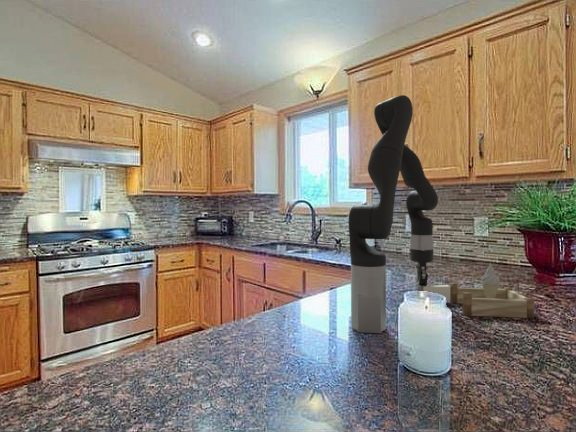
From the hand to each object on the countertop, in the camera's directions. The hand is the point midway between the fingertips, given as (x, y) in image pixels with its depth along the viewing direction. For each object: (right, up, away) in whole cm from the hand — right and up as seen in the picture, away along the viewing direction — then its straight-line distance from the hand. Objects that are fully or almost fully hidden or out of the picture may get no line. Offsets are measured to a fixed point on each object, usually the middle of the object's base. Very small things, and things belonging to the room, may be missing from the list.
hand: (421, 297), depth 124 cm
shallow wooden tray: (+17, -1, -11) cm, 20 cm away
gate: (+3, -1, -4) cm, 5 cm away
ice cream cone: (+17, -1, -11) cm, 21 cm away
